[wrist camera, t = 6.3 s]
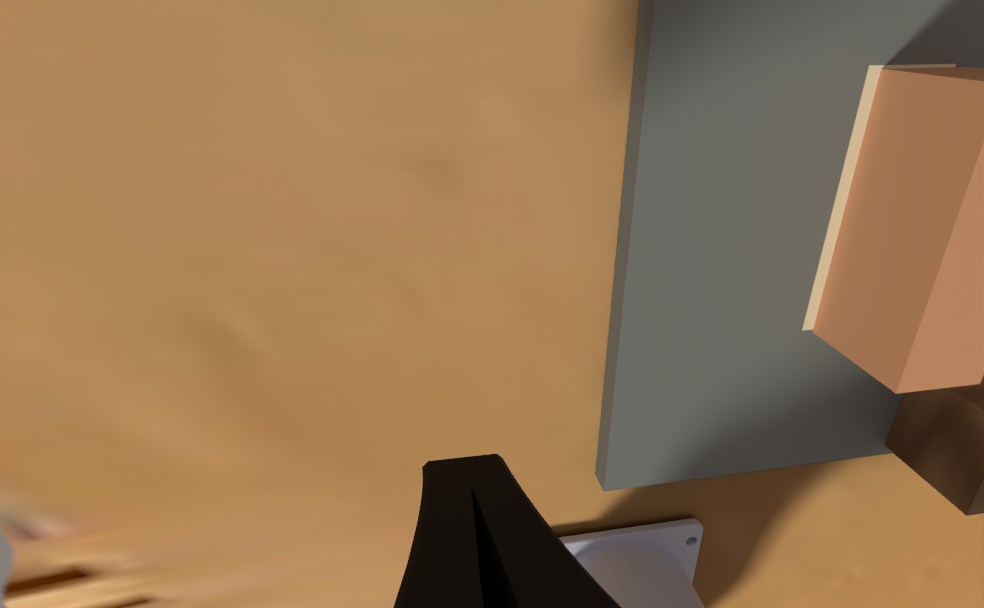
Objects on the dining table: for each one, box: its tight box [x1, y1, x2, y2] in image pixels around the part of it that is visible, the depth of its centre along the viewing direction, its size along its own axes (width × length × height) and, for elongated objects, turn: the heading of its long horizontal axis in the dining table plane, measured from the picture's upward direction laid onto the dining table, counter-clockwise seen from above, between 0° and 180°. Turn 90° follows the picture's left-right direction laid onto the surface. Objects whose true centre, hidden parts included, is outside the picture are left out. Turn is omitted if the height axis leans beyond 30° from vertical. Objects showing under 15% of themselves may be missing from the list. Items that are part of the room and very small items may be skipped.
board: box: [596, 0, 984, 491], centre depth 22 cm, size 18×17×1 cm
